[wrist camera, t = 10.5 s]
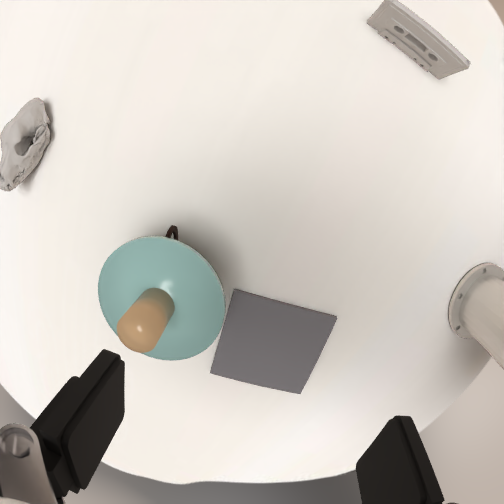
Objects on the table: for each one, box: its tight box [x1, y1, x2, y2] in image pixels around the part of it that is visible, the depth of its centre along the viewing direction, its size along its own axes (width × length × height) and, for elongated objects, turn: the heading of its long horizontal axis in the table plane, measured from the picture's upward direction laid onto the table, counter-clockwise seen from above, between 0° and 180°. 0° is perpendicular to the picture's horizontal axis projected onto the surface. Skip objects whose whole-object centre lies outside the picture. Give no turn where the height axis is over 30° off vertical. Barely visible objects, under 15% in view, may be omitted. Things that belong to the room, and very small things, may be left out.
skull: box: [0, 98, 51, 191], centre depth 31 cm, size 8×9×12 cm
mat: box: [210, 289, 337, 394], centre depth 42 cm, size 14×14×1 cm
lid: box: [98, 236, 225, 360], centre depth 26 cm, size 13×13×6 cm
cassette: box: [367, 0, 470, 79], centre depth 26 cm, size 12×2×8 cm, turn 58°
